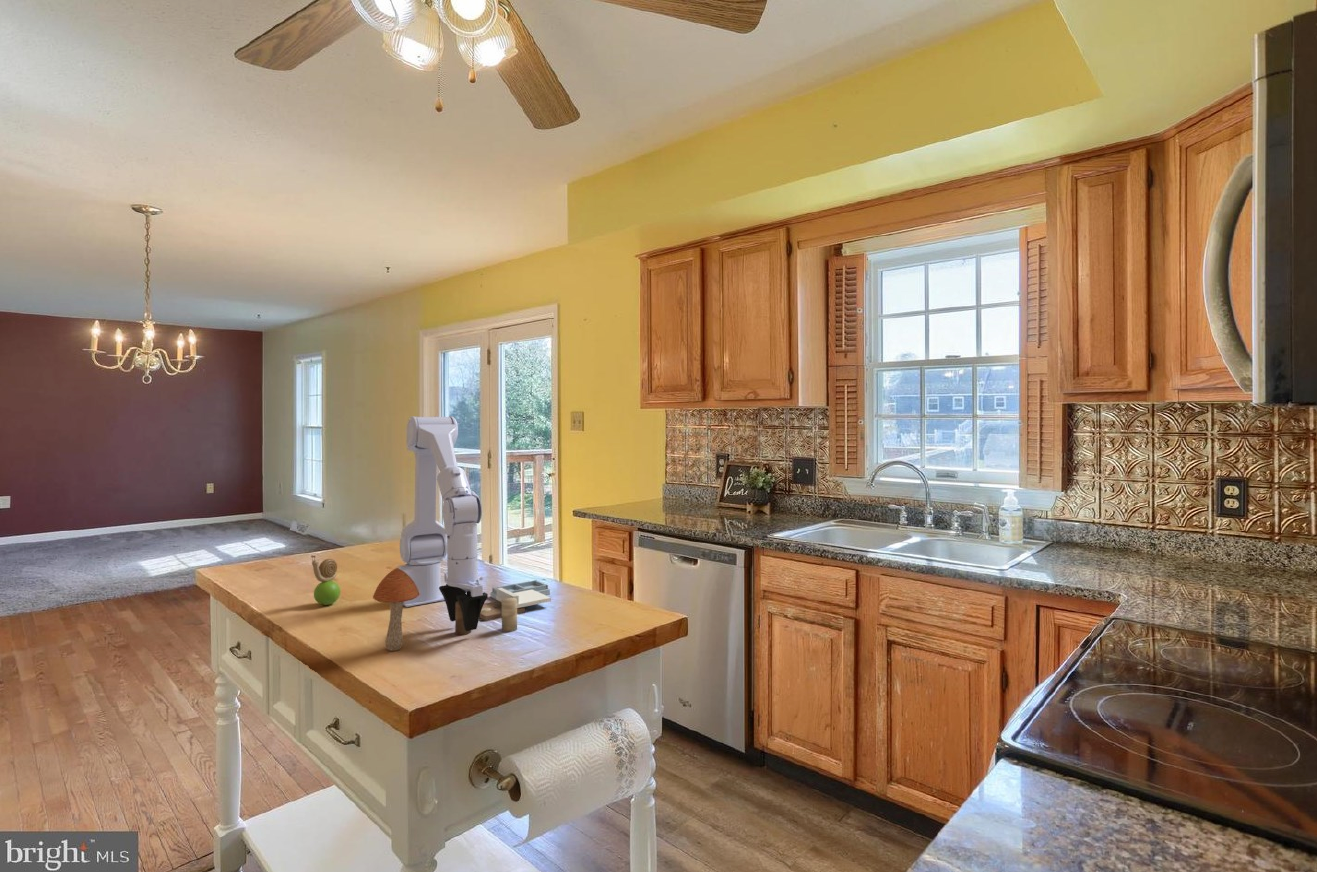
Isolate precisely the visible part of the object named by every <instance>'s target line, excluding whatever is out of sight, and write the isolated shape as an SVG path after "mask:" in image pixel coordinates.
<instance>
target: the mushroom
mask: <svg viewBox="0 0 1317 872" xmlns="http://www.w3.org/2000/svg"><path fill="white" fill-rule="evenodd" d="M418 596H419V591H418V589H417V586H416V584H415V583H414V581H413V580H412V579H411V577H410V576H409V575H408V574H407V573H405V572H404V571H402V570H400V569H398V567H395V568H394V569H393V570H390V572H388V573H387V574H386V575H385V576H384V577H383V579H382V580H381V581H380V582H379V583H378V586H377V587H376V589H375V591H374V594H373V595H372V598H373V600H374V601H376V602H380V603H385V604H386V603H388V604H389V603H390V612H389V613H390V614H389V624H388V628H387V632H386V637H385V648H386V650H387V651H390V652H391V651H392V652H394V651H395V652H396V651H399V650H401V648H402V645H403V626H402V618H403V611H404V610H403V608H404V605H403V602H404V601H409V600H413V599H415V598H417V597H418Z"/></svg>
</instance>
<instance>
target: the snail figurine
mask: <svg viewBox="0 0 1317 872" xmlns="http://www.w3.org/2000/svg"><path fill="white" fill-rule="evenodd" d="M310 557H311V560H312V561H311V565H312V570H313V573H314V577H315V578H316V580H317V581H319V583H318V584H317V586H315V588H314V591H313V597H314V600H315V601H316V602H317V603H318V604H320V605H322V606H330V605H332V604H334V603H336V602H337V601H338V599H339V598H340V595H341V591H342V590H341V587H340V585H339V584H338V583H337V582H336V581H334V579H335V578H336V576H337V574H336V572H338V571H337V570H338V563H337V562H336V561H335V560H334V559H333V558H327V559H324V560H323V561H321V562H320V564H319V560H318V559H316V557H317V556H316V555H313V554H311V556H310ZM313 559H314V560H313Z"/></svg>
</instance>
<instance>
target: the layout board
mask: <svg viewBox="0 0 1317 872" xmlns="http://www.w3.org/2000/svg"><path fill="white" fill-rule="evenodd" d="M525 613H526V607H521V608H517V615H520V614H525ZM479 619H482V620H483V621H484V622H488V621H491V620H492V621H493V620H495V619H496V620H497V619H502V602H500V601H498V600H495V601H491V602H485V603H484V605H483V607H482V610H481V613H480V617H479Z"/></svg>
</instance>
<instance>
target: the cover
mask: <svg viewBox="0 0 1317 872" xmlns="http://www.w3.org/2000/svg"><path fill="white" fill-rule="evenodd" d="M505 598H516V599H517V608H521V607H523V608H526V607H530V606H534V605H539V604H540V605H541V604H544V603H549V602H552V598H551V597H550V596H548V595H544V594H541V593H539V592H537V591H534V590H526V591H521V592H516V593H512V592H510V591H508V590H506V589H503V588H497V596H496V599H495V601H500V602H502V599H505Z"/></svg>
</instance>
